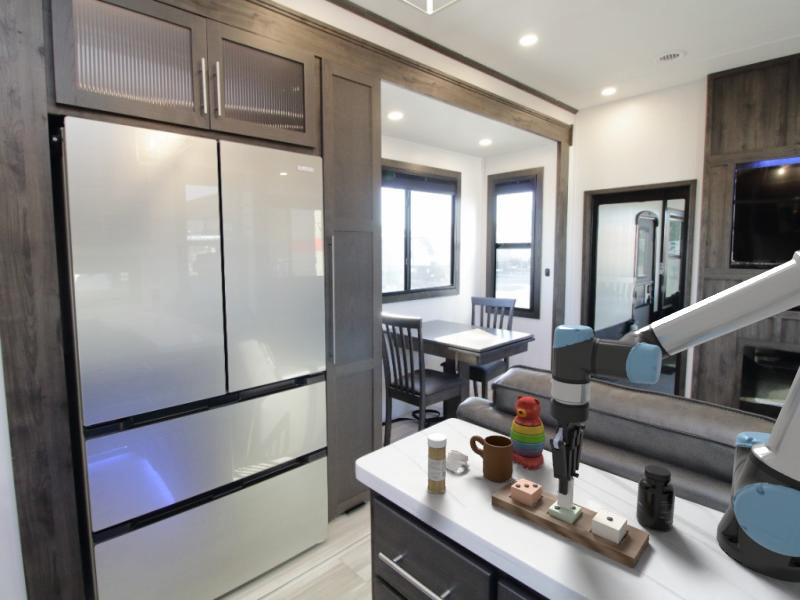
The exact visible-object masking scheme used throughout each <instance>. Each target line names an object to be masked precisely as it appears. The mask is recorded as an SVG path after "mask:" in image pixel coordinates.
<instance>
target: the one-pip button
mask: <svg viewBox="0 0 800 600" xmlns="http://www.w3.org/2000/svg"><path fill="white" fill-rule="evenodd" d="M627 524H628V518H625V517H623V516H620V515H618V514H615V513H613V512H610V511H607V510H605V509H602V508H600V510H599V511H598V512H597V514H596V516H595V517H594V518H593V519H592V533H593V534H595V535H598V536H600V537H602V538H605V539H607V540H609V541H612V542H614V543H616V544H619V545H620V544H621V543H622V541H623V540H624V538H623V537H624V536H625V534H626V531H627Z"/></svg>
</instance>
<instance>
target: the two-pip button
mask: <svg viewBox="0 0 800 600" xmlns="http://www.w3.org/2000/svg"><path fill="white" fill-rule="evenodd" d="M549 515H551V516H554V517H556V518H558V519H560V520H563V521H565V522H567V523H570V524H572V525H573V524H574V523H575V522H576V521H577V520H578V519H579V518H580V516H581V507H578V506H576V505H573V507H572V508H571V509H570V510H569V509H566V508H564V507H561V506H559V505H557V501H556V502H555V503H554V504H553V505H552V506H551V507H549Z"/></svg>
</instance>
